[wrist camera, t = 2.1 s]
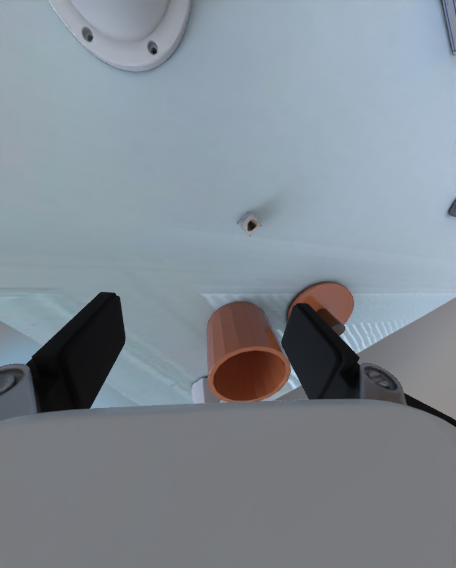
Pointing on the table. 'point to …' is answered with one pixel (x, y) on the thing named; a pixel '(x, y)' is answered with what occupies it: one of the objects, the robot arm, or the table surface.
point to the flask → (203, 392)
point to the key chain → (453, 210)
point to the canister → (244, 354)
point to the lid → (328, 304)
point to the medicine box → (451, 20)
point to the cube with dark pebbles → (249, 223)
